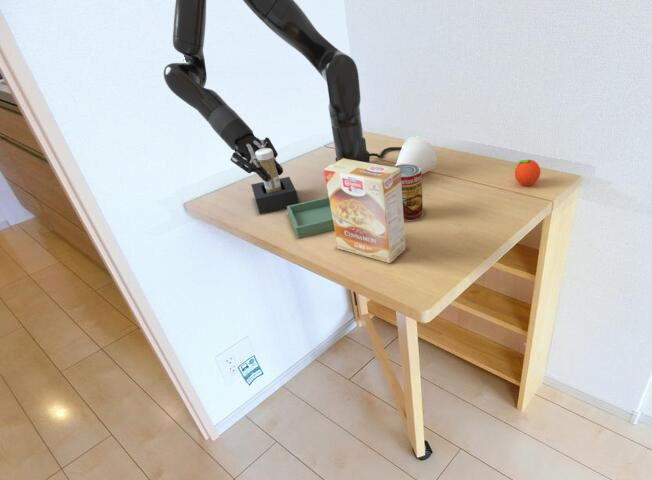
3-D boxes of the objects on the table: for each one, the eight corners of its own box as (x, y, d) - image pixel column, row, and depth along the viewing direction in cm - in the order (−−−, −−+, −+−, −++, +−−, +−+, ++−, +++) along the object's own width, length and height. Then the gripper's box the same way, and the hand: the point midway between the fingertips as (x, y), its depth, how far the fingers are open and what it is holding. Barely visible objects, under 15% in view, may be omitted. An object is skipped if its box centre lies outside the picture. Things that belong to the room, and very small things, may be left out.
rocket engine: (384, 163, 117) (417, 128, 126) (365, 181, 127) (396, 148, 136) (414, 195, 120) (444, 159, 129) (392, 210, 130) (421, 176, 139)
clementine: (508, 188, 123) (510, 163, 118) (511, 178, 128) (513, 154, 123) (537, 190, 120) (541, 165, 116) (539, 180, 125) (543, 156, 121)
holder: (292, 191, 131) (289, 176, 128) (299, 205, 123) (296, 190, 120) (255, 198, 128) (251, 184, 125) (259, 214, 120) (255, 199, 117)
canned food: (401, 224, 110) (398, 178, 103) (387, 212, 116) (383, 168, 108) (428, 216, 113) (427, 171, 105) (413, 204, 118) (411, 161, 111)
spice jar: (286, 197, 124) (274, 150, 116) (271, 202, 122) (258, 154, 114) (280, 192, 127) (268, 146, 119) (265, 196, 125) (252, 150, 117)
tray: (344, 203, 122) (342, 193, 120) (358, 223, 112) (357, 213, 110) (288, 215, 118) (286, 206, 116) (298, 238, 108) (295, 228, 106)
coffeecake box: (336, 249, 103) (322, 168, 91) (354, 235, 107) (342, 157, 95) (390, 264, 96) (382, 180, 84) (406, 249, 101) (401, 166, 89)
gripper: (213, 126, 110) (262, 178, 112) (253, 110, 119) (297, 159, 122) (206, 145, 115) (252, 194, 118) (245, 128, 125) (287, 174, 127)
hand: (275, 176), depth 120 cm, fingers closed on spice jar, 4 cm apart
